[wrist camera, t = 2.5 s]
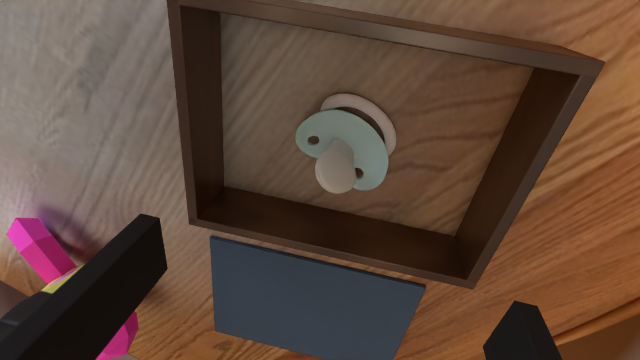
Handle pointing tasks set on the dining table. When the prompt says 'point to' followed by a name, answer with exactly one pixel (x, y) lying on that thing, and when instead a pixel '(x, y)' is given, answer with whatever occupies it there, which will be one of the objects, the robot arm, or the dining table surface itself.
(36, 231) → the toy
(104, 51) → the dining table surface
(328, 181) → the pacifier
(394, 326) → the mat
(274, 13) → the open box
